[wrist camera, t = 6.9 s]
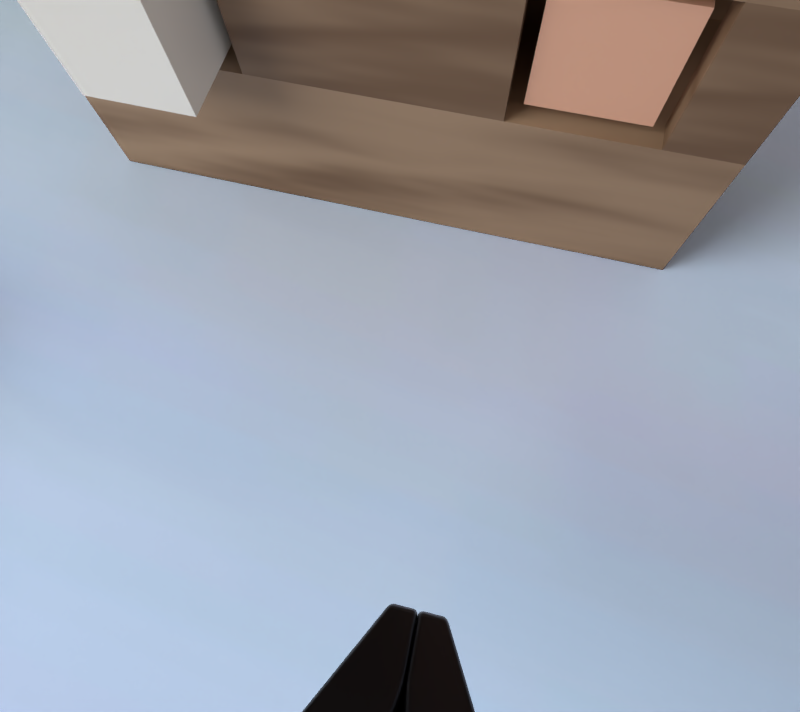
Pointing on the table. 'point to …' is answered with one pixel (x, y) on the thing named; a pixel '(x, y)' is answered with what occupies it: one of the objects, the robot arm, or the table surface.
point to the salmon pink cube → (613, 55)
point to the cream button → (136, 48)
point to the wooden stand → (472, 120)
